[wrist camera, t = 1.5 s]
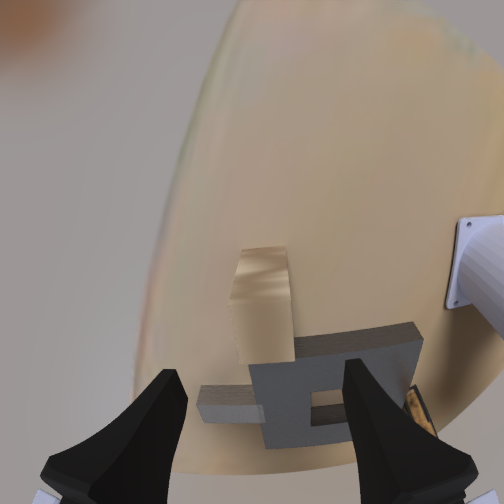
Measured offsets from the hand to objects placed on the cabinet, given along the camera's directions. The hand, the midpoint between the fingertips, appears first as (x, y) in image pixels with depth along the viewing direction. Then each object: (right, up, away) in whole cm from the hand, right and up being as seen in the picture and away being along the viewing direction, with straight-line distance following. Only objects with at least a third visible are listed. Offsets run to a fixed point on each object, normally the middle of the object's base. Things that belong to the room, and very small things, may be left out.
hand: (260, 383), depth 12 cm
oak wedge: (+1, +4, +10) cm, 10 cm away
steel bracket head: (+5, -8, +14) cm, 17 cm away
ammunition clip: (+19, -13, +16) cm, 28 cm away
